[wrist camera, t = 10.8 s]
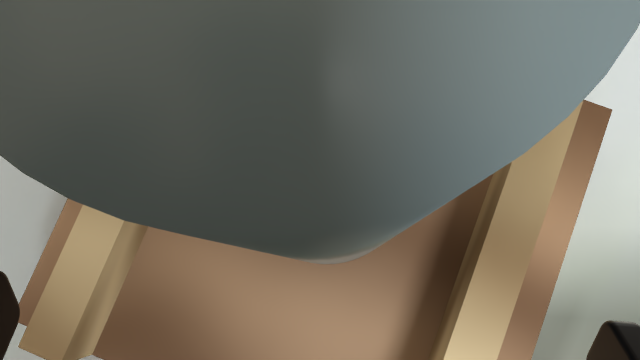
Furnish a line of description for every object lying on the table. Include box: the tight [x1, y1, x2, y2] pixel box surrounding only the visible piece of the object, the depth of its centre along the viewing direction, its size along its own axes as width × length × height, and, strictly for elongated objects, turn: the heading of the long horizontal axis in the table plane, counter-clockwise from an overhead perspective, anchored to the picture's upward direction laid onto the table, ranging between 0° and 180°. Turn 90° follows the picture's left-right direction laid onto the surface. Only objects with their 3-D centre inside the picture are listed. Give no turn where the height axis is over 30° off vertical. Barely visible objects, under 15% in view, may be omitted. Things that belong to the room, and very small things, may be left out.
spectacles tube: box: [0, 0, 640, 264], centre depth 10 cm, size 5×5×13 cm
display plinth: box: [18, 100, 612, 360], centre depth 16 cm, size 12×14×4 cm
